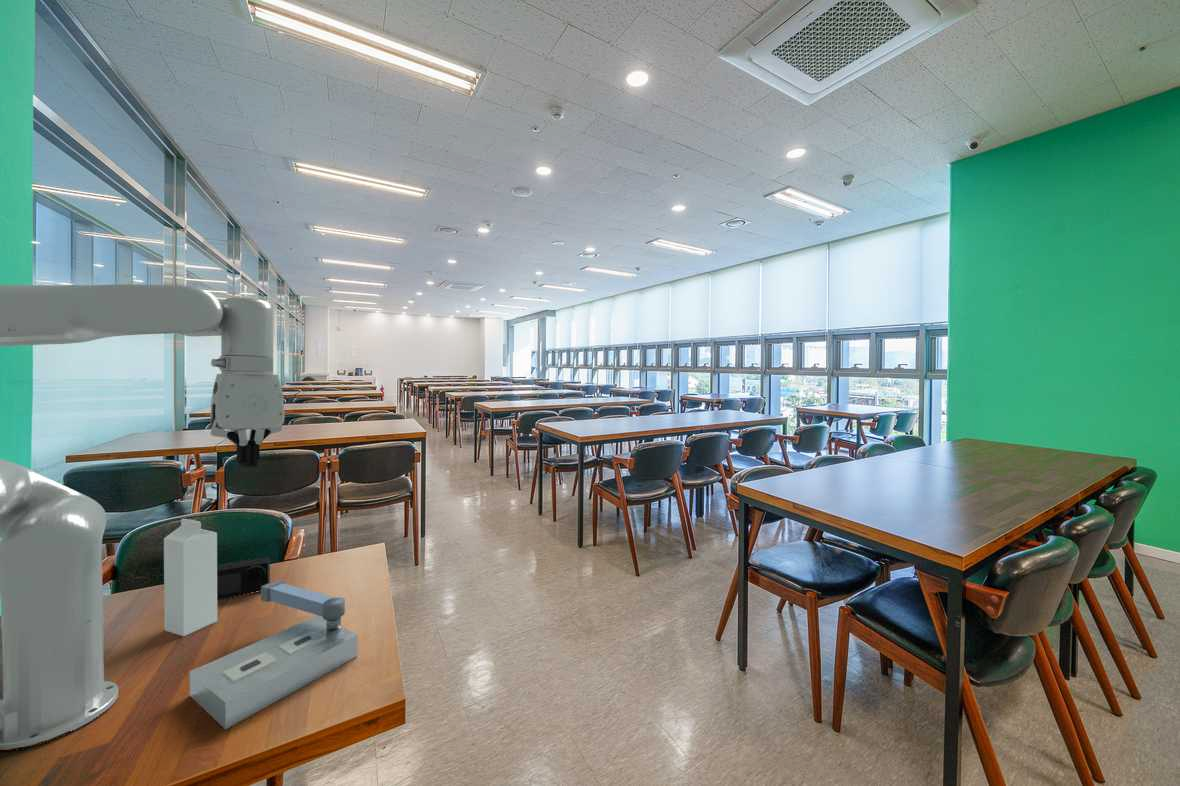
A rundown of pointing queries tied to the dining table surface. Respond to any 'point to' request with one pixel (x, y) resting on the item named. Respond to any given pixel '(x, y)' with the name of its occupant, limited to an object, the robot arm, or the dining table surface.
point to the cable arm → (303, 600)
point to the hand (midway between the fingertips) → (248, 465)
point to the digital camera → (242, 577)
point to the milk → (190, 578)
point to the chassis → (271, 669)
